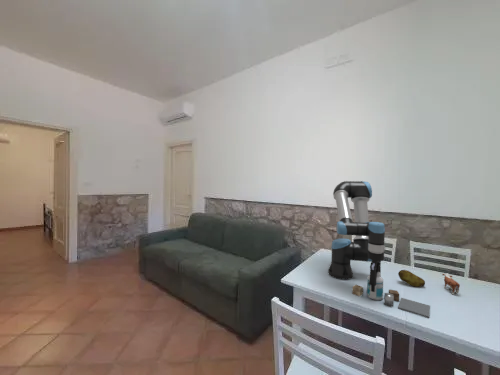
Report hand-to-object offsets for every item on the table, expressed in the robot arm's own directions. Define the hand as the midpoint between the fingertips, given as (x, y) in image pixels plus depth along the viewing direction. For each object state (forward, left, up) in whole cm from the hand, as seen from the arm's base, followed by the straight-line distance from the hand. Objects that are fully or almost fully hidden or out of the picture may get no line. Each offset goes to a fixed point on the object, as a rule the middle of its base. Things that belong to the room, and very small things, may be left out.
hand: (374, 294), depth 123 cm
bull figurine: (+31, +37, -2) cm, 48 cm away
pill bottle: (0, 0, -2) cm, 2 cm away
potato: (+13, +31, -2) cm, 34 cm away
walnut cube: (+8, +5, -2) cm, 9 cm away
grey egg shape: (+7, -3, -2) cm, 8 cm away
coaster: (+17, +1, -2) cm, 17 cm away
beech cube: (-8, -2, -2) cm, 8 cm away
